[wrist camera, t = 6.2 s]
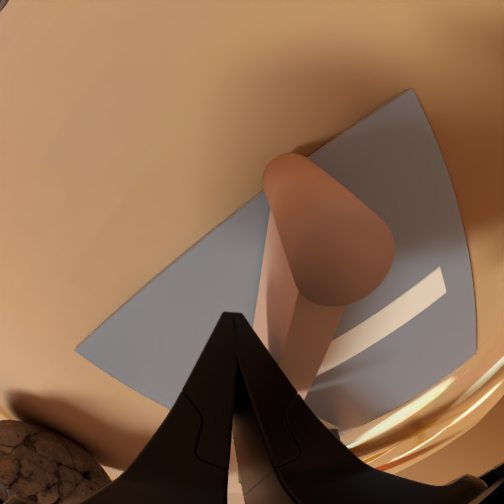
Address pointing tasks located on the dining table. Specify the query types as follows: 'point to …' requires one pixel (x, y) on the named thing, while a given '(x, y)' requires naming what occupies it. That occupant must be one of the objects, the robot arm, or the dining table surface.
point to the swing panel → (313, 263)
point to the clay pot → (45, 466)
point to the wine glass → (2, 3)
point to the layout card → (355, 314)
